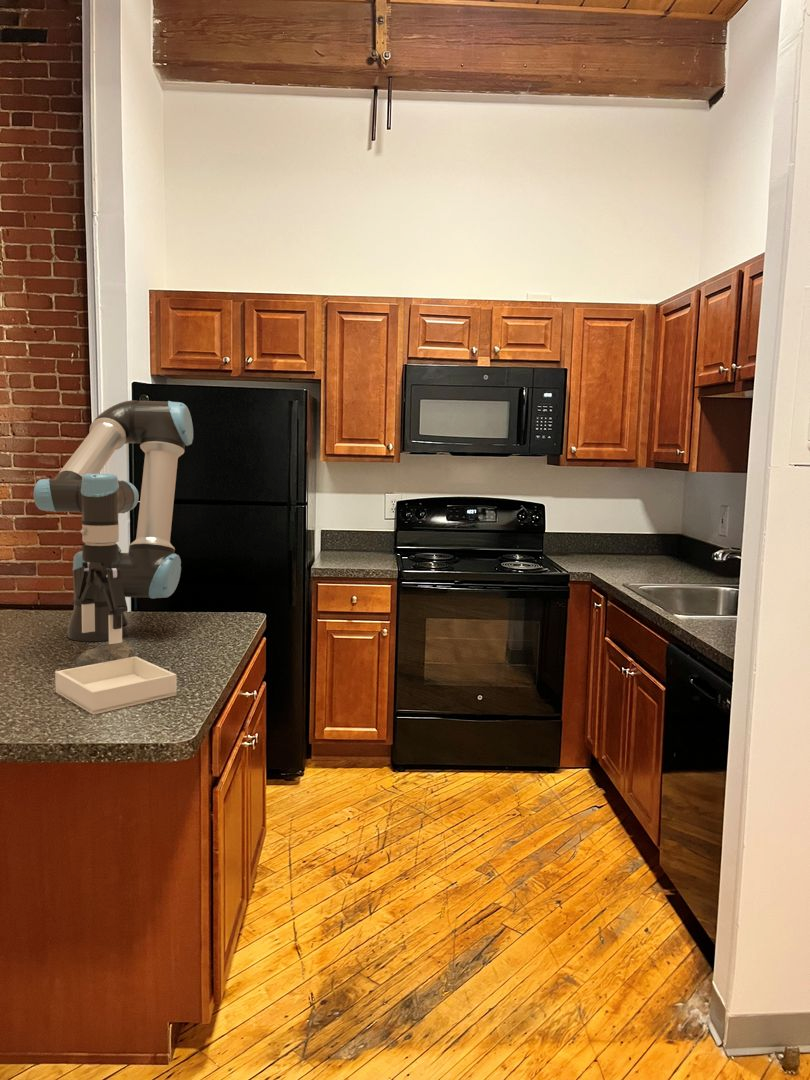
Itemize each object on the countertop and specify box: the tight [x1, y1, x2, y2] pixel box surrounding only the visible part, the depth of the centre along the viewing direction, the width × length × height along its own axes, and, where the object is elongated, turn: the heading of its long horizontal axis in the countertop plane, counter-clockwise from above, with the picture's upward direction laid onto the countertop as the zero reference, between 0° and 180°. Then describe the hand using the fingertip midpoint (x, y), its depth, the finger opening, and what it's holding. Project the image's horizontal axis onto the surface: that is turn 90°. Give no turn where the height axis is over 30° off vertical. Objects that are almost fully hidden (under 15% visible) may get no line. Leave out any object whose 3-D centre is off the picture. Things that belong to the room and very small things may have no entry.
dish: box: [54, 655, 178, 715], centre depth 160 cm, size 18×18×4 cm
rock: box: [72, 640, 136, 668], centre depth 176 cm, size 13×9×6 cm, turn 102°
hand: (101, 637), depth 174 cm, fingers open, 13 cm apart
